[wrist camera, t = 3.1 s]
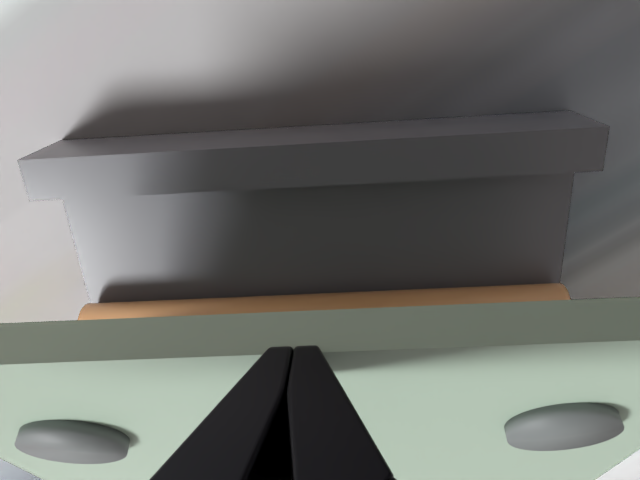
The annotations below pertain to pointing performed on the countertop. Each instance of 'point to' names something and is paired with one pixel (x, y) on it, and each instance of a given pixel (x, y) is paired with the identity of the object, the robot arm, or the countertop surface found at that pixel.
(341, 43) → the countertop surface
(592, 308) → the cover
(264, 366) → the robot arm
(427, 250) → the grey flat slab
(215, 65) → the countertop surface
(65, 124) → the countertop surface
